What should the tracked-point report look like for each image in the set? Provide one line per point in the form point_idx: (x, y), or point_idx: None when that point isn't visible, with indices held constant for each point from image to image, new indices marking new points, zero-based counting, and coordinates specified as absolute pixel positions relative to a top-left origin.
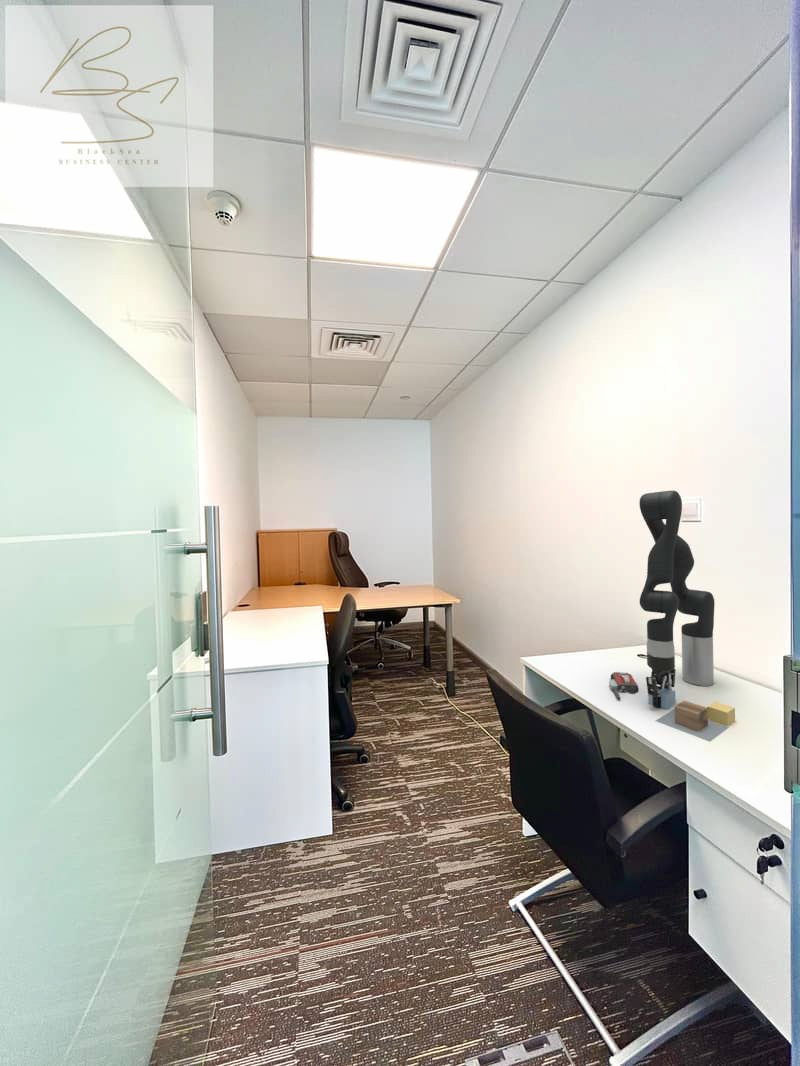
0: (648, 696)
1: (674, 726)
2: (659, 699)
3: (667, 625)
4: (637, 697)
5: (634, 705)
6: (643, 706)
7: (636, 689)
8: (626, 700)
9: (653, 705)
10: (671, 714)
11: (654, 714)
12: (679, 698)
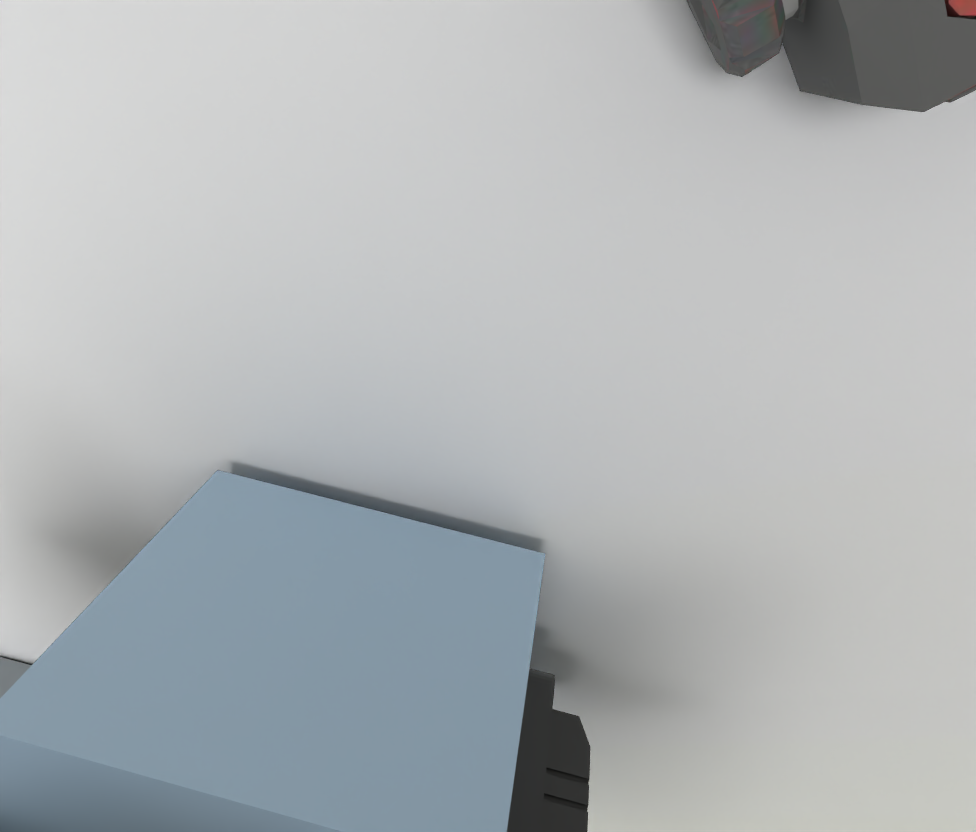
0: (107, 593)
1: None
2: None
3: None
4: (502, 174)
5: (61, 244)
6: (162, 389)
7: (815, 66)
8: (141, 5)
9: None
10: None
11: (44, 566)
12: (925, 778)
